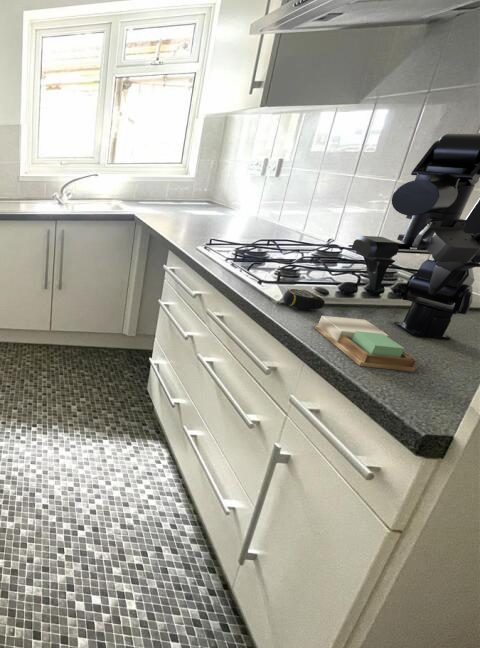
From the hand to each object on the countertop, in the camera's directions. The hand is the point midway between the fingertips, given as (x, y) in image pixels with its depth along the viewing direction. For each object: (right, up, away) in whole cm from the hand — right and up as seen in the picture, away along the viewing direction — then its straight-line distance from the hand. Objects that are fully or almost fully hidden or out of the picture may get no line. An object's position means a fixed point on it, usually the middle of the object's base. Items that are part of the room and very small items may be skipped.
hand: (402, 292), depth 79 cm
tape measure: (-2, -3, +23) cm, 23 cm away
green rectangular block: (-6, -12, 0) cm, 13 cm away
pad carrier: (-5, -11, +3) cm, 13 cm away
